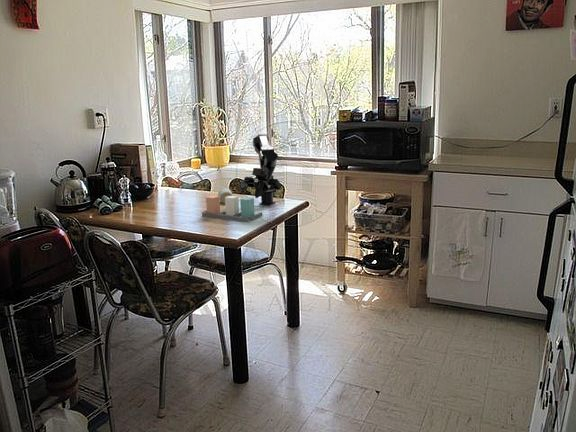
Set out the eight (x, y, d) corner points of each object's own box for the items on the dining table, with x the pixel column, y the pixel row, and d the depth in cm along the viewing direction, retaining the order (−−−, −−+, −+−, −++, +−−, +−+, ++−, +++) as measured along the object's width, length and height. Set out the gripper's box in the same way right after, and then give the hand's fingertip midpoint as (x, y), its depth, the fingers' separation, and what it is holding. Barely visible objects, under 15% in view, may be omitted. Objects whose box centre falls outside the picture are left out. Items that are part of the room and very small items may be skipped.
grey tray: (217, 210, 253) (217, 205, 252) (267, 217, 238) (266, 211, 237) (199, 217, 242) (198, 212, 241) (249, 224, 226) (249, 218, 226)
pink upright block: (212, 213, 244) (211, 195, 242) (220, 214, 242) (219, 196, 239) (207, 215, 241) (205, 197, 239) (215, 216, 238) (213, 198, 236)
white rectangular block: (231, 213, 242) (230, 195, 240) (239, 214, 240) (238, 196, 237) (226, 215, 239) (224, 197, 237) (234, 216, 237) (233, 198, 234)
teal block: (246, 215, 238) (245, 197, 235) (254, 216, 235) (253, 198, 233) (241, 217, 234) (240, 199, 232) (249, 218, 232) (248, 200, 230)
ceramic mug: (220, 205, 264) (219, 191, 262) (218, 202, 272) (217, 188, 270) (240, 204, 266) (239, 190, 265) (237, 200, 274) (237, 187, 272)
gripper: (244, 160, 243) (232, 186, 237) (277, 162, 234) (265, 189, 227) (254, 173, 251) (242, 199, 245) (286, 175, 242) (275, 202, 236)
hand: (256, 197), depth 238 cm, fingers closed
